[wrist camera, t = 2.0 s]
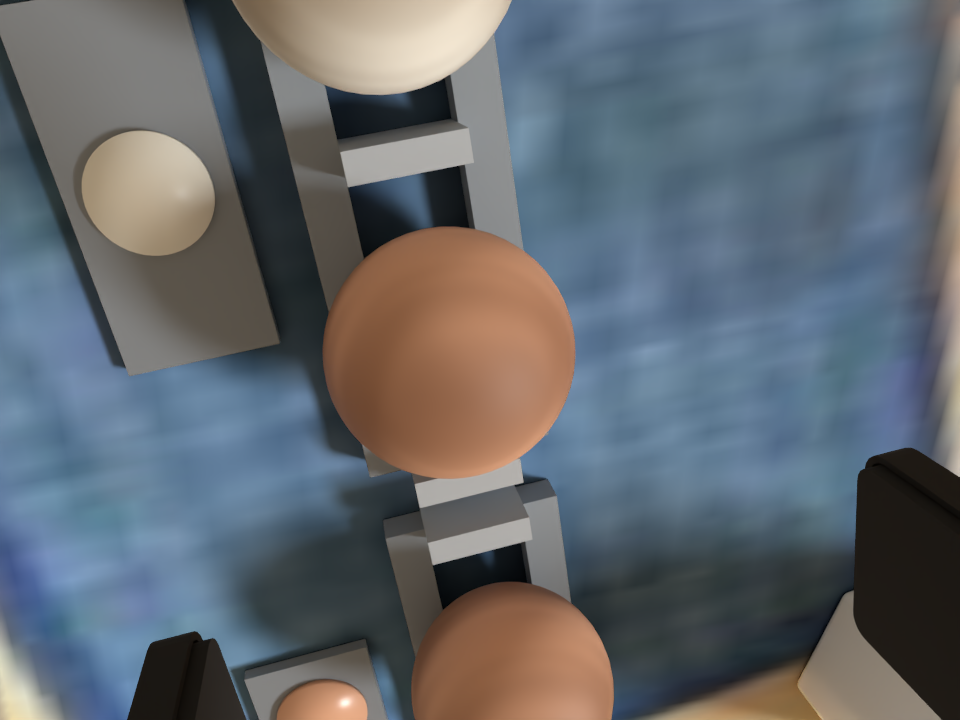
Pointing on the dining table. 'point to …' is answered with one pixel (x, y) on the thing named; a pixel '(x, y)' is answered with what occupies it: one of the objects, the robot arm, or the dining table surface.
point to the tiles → (163, 234)
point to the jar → (856, 677)
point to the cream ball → (374, 39)
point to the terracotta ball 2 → (512, 659)
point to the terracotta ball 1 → (448, 352)
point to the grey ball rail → (335, 241)
